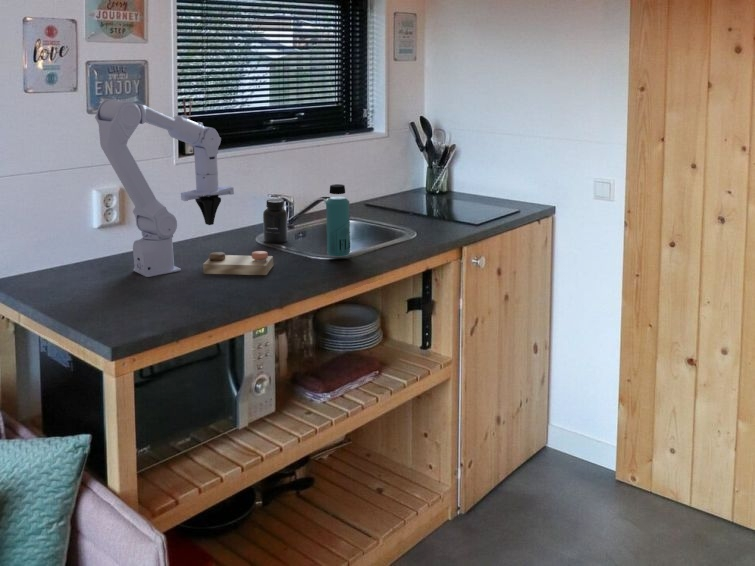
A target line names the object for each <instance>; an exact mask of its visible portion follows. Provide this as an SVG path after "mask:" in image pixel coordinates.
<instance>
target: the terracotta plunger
mask: <svg viewBox="0 0 755 566" xmlns="http://www.w3.org/2000/svg"><path fill="white" fill-rule="evenodd" d="M251 256H252V259H255V262H265V259H267V258H268V256H269V255H268V252H267V251H264V250H257V251H256V250H255V251H252V252H251Z"/></svg>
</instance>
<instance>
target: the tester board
mask: <svg viewBox="0 0 755 566" xmlns="http://www.w3.org/2000/svg"><path fill="white" fill-rule="evenodd" d="M202 267H203V268H202V269H203V274H204V275H205V274H207V275H238V276H239V275H247V276H267V275H268V274H269V272H270V271H271V270H272V268H273V267H274V256H272V255H268V258H267V259H265V262H255V259H252V255H242V254H241V255H236V254H235V255H233V254H225V259H224V260H222V261H213V260H210V259H209V258H208V259H206V261H205V262H203V263H202Z"/></svg>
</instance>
